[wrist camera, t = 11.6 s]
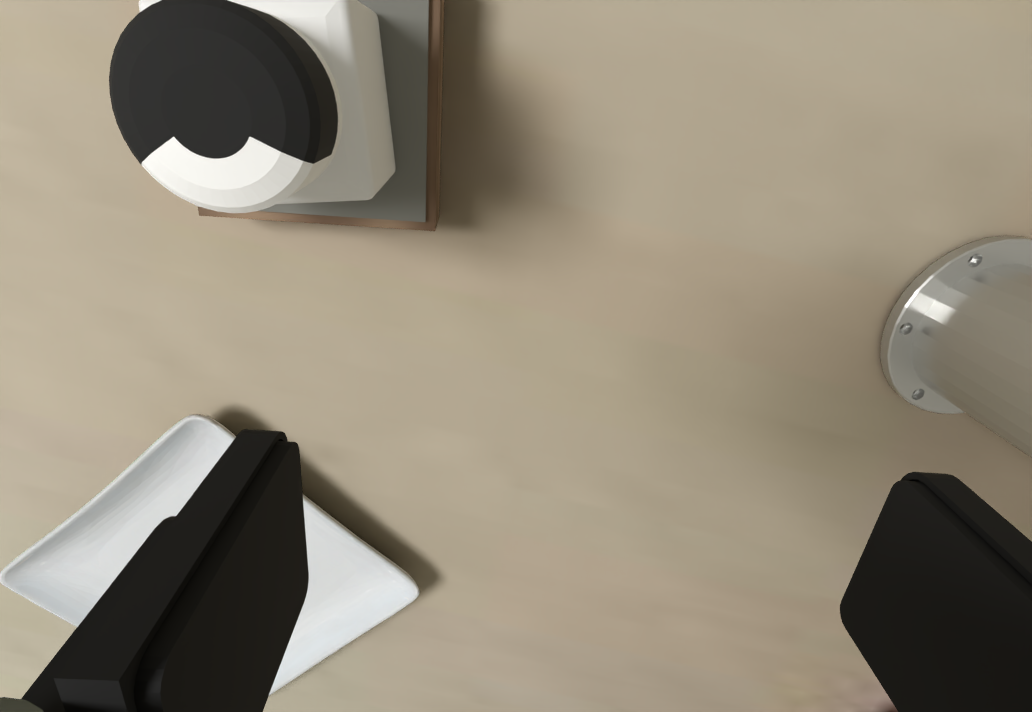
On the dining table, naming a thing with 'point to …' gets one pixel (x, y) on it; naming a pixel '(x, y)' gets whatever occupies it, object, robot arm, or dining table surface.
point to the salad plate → (162, 493)
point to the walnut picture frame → (394, 128)
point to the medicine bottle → (255, 101)
